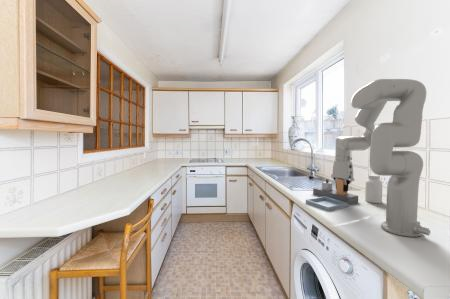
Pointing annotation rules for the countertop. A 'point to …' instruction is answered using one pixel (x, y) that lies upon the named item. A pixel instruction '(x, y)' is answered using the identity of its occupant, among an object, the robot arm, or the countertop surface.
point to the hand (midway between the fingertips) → (341, 190)
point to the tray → (326, 203)
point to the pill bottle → (373, 189)
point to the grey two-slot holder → (336, 195)
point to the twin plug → (327, 185)
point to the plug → (340, 187)
